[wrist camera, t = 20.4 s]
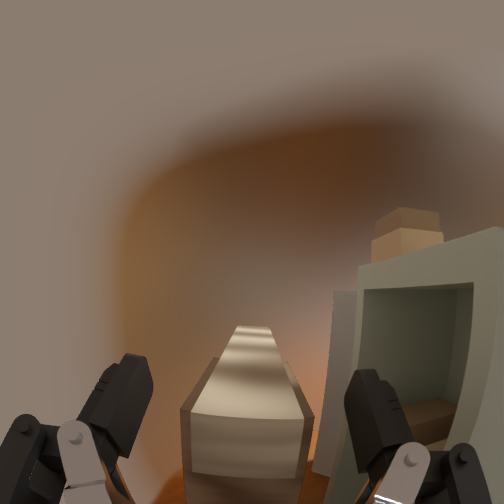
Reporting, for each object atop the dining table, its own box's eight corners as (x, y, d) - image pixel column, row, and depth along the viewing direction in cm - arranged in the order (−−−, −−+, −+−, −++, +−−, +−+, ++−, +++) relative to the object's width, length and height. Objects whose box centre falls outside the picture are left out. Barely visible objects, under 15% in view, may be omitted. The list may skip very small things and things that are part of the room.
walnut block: (271, 501, 24) (287, 361, 28) (276, 572, 11) (314, 416, 14) (212, 497, 25) (213, 357, 28) (195, 567, 11) (180, 409, 14)
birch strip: (236, 348, 34) (237, 325, 34) (267, 349, 33) (269, 327, 34) (192, 471, 8) (190, 412, 8) (294, 478, 8) (304, 419, 8)
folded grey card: (401, 473, 27) (437, 291, 31) (392, 491, 22) (435, 290, 27) (326, 456, 36) (348, 291, 40) (311, 471, 32) (333, 291, 36)
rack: (400, 507, 18) (453, 238, 23) (450, 572, 2) (568, 196, 7) (314, 526, 18) (357, 228, 23) (339, 615, 3) (477, 145, 8)
